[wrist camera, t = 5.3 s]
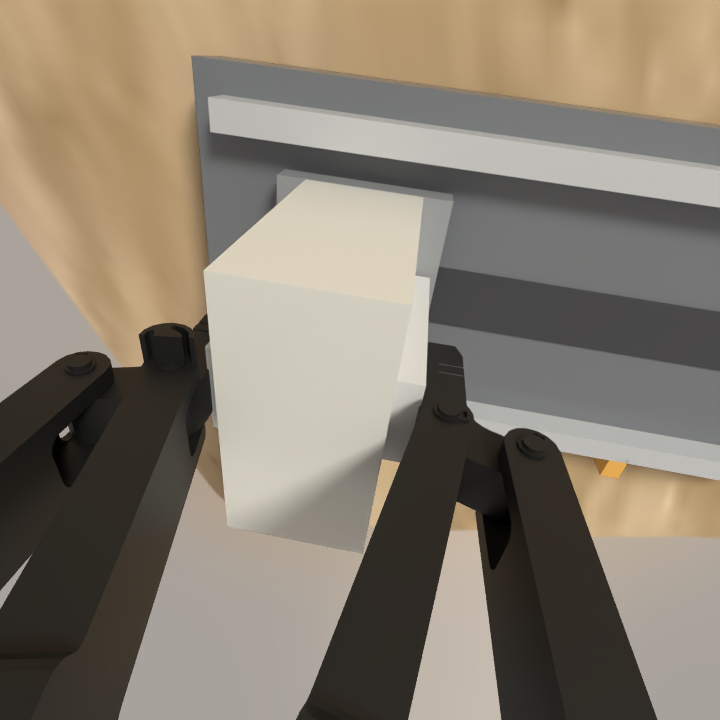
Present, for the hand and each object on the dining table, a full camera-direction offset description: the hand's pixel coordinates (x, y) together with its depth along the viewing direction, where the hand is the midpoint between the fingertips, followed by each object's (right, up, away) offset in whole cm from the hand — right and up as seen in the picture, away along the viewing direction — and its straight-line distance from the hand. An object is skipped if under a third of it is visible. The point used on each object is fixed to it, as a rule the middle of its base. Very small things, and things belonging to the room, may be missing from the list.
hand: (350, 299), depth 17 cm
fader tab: (0, +1, +1) cm, 1 cm away
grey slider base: (+8, +1, +3) cm, 9 cm away
